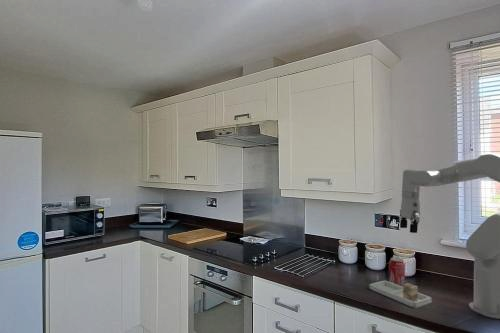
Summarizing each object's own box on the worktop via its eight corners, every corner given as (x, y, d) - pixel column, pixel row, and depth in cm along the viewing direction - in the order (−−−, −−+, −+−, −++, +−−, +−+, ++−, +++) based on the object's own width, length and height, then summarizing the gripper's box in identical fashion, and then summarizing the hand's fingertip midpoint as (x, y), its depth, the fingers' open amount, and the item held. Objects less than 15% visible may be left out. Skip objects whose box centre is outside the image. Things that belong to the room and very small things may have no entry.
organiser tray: (431, 303, 127) (431, 297, 127) (415, 309, 121) (415, 303, 121) (385, 285, 146) (385, 280, 146) (368, 289, 140) (368, 284, 140)
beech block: (417, 300, 128) (417, 286, 128) (411, 302, 126) (411, 288, 126) (408, 296, 131) (408, 283, 132) (402, 298, 130) (403, 284, 130)
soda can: (390, 279, 154) (391, 256, 154) (406, 283, 149) (406, 259, 149) (387, 283, 148) (387, 259, 148) (402, 287, 144) (403, 262, 144)
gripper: (428, 198, 137) (425, 235, 138) (409, 193, 154) (407, 226, 155) (411, 197, 137) (409, 234, 138) (394, 192, 155) (392, 225, 155)
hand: (408, 230), depth 146 cm, fingers open, 9 cm apart
